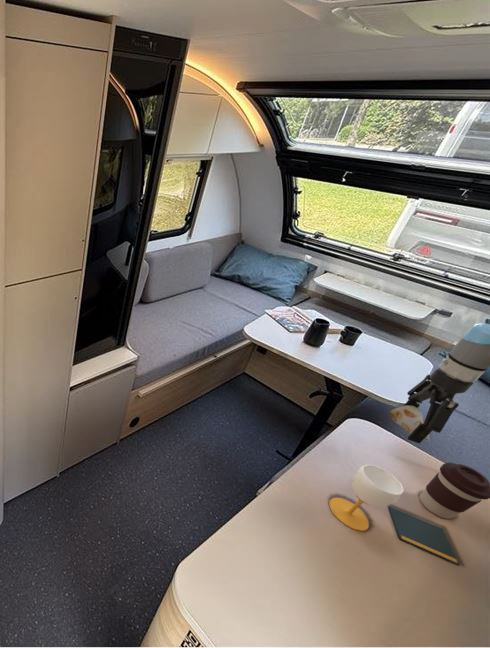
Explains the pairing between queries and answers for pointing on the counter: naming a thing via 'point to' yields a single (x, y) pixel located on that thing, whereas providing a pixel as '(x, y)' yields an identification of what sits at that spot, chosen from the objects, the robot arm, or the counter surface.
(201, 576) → the counter surface
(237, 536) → the counter surface
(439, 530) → the book
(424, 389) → the robot arm
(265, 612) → the counter surface
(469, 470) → the coffee cup
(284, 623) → the counter surface
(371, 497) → the cup
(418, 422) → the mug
